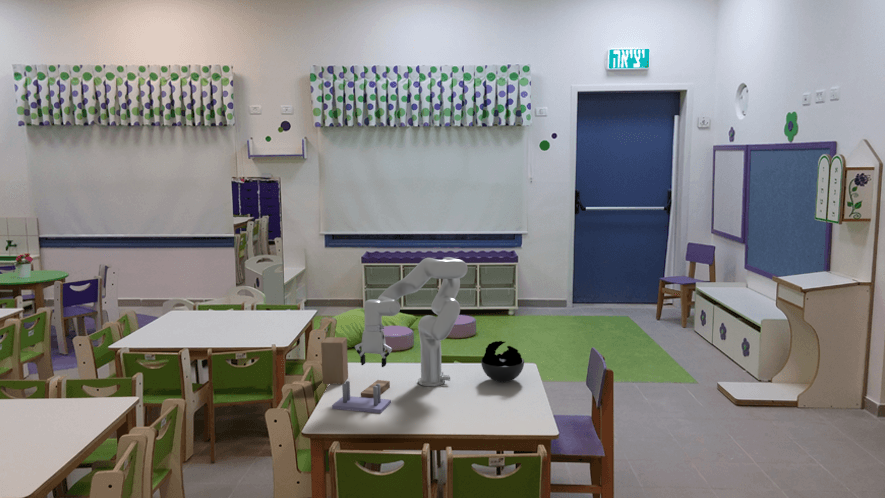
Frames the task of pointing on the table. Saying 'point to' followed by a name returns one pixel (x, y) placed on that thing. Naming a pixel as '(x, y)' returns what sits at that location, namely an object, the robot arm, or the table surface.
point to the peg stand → (361, 401)
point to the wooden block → (334, 360)
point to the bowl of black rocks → (502, 363)
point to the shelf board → (383, 385)
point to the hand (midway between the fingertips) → (373, 365)
